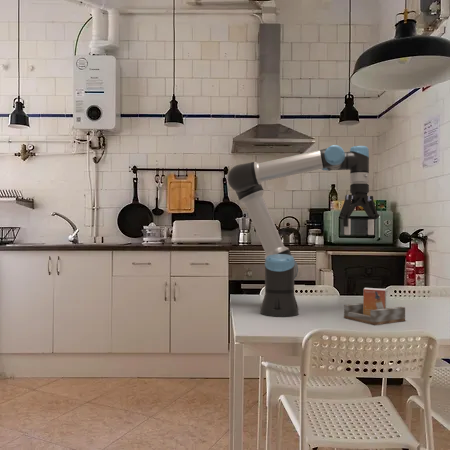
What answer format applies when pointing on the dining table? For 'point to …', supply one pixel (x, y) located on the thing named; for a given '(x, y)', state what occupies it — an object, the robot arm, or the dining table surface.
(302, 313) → the dining table surface
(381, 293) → the small box
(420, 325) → the dining table surface
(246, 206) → the robot arm
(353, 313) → the cradle
